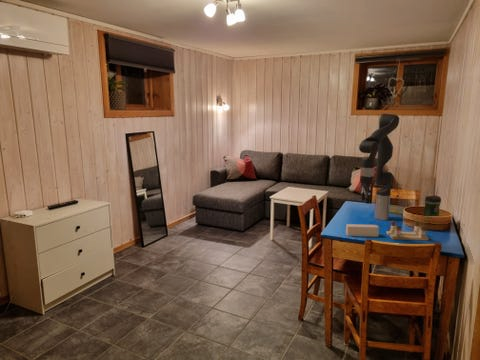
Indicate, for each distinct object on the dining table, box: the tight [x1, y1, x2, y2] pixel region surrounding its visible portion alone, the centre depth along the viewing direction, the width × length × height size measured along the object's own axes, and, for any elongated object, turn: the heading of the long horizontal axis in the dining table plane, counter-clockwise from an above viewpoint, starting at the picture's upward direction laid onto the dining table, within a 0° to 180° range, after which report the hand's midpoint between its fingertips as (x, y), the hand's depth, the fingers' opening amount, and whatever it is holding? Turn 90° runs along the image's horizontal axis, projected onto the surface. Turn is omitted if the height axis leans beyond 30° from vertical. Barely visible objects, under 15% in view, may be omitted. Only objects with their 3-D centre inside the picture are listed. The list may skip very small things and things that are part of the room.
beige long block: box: [345, 223, 380, 238], centre depth 207 cm, size 5×18×6 cm, turn 85°
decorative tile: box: [389, 204, 406, 217], centre depth 258 cm, size 19×20×4 cm
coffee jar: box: [423, 195, 442, 217], centre depth 230 cm, size 10×8×19 cm
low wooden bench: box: [386, 220, 430, 241], centre depth 203 cm, size 11×20×8 cm, turn 87°
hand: (365, 201), depth 204 cm, fingers open, 8 cm apart
